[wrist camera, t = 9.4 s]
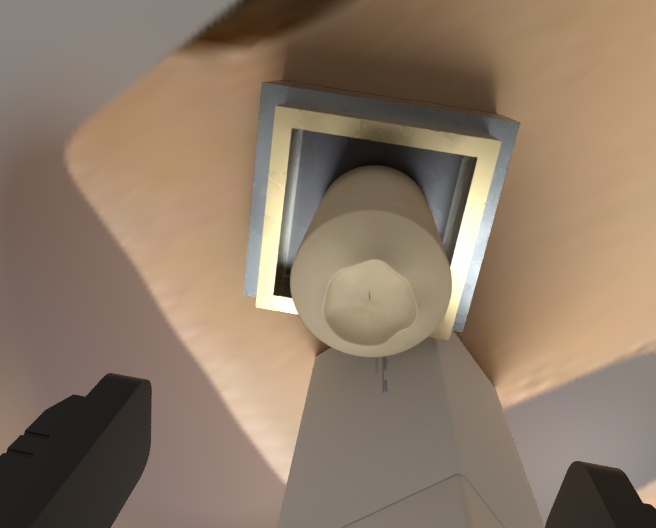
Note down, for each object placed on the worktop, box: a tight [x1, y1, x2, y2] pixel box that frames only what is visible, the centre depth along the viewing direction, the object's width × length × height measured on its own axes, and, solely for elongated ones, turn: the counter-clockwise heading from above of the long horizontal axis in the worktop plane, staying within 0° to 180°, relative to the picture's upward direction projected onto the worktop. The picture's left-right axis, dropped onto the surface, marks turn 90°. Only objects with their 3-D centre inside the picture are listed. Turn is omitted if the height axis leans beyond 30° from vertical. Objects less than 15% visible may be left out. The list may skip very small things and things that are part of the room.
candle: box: [290, 165, 452, 357], centre depth 21 cm, size 6×6×10 cm
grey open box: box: [243, 80, 520, 340], centre depth 27 cm, size 12×11×8 cm
